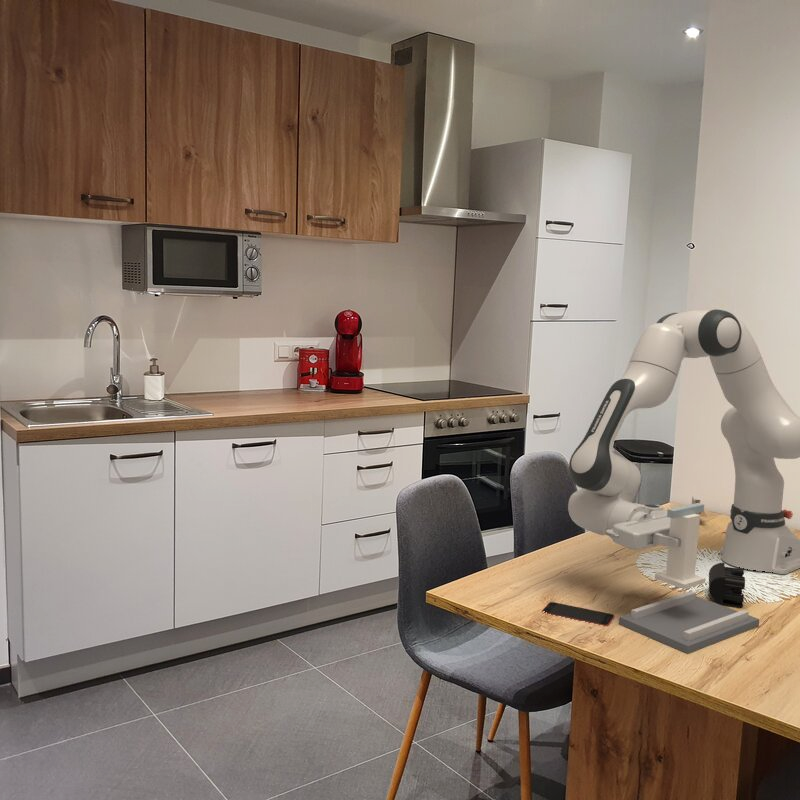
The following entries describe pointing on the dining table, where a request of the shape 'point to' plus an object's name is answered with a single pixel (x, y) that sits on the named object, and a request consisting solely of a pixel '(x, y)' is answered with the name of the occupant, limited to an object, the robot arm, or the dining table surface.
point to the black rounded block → (727, 585)
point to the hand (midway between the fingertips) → (687, 541)
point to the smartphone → (579, 613)
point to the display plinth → (688, 622)
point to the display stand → (683, 547)
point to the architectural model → (702, 514)
